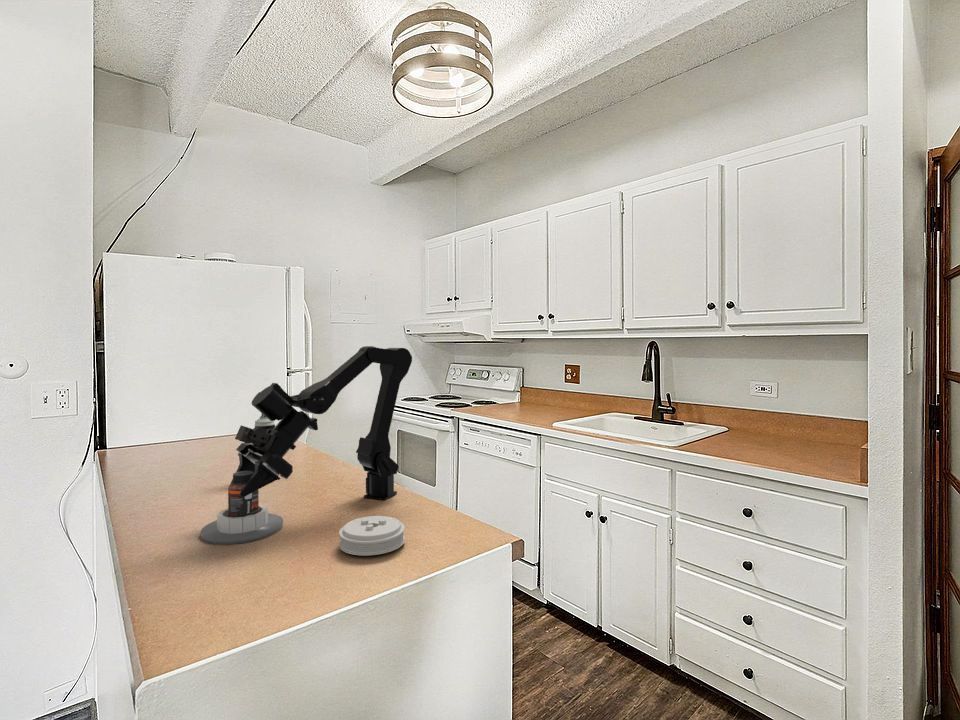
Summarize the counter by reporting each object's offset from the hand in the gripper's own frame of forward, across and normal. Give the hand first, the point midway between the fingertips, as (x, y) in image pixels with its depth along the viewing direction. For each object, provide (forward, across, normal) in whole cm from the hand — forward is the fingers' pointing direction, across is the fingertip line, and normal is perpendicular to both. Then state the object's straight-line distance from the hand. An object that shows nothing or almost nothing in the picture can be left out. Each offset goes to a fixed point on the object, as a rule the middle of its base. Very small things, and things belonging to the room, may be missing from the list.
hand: (235, 492), depth 108 cm
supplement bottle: (+4, 0, +6) cm, 8 cm away
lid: (-5, +27, +18) cm, 33 cm away
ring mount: (+5, 0, +7) cm, 9 cm away
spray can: (-8, -37, +20) cm, 43 cm away
